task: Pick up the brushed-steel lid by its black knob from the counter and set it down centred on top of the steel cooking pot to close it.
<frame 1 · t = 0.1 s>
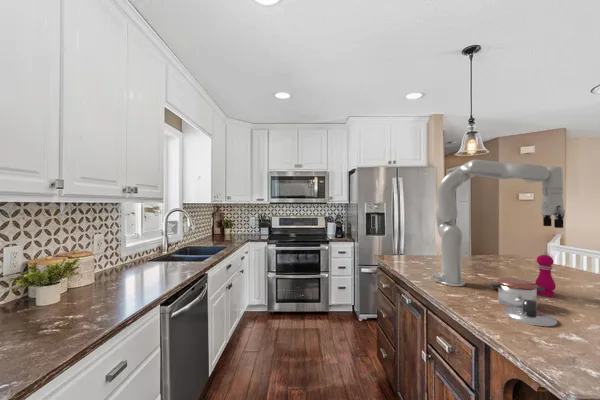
hand: (552, 226, 137), 31 cm above the counter, tool pointing down, fingers open, 9 cm apart
pot: (517, 303, 119), on the counter
pepper mill: (545, 294, 131), on the counter
lid: (529, 318, 105), on the counter
burger: (508, 291, 137), on the counter
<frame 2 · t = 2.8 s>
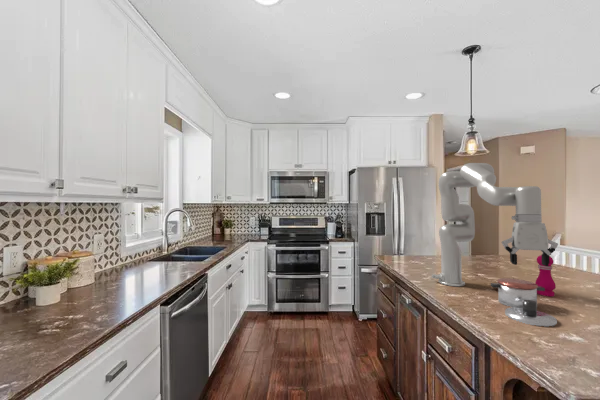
hand: (529, 264, 105), 20 cm above the counter, tool pointing down, fingers open, 9 cm apart
nothing on the counter moved.
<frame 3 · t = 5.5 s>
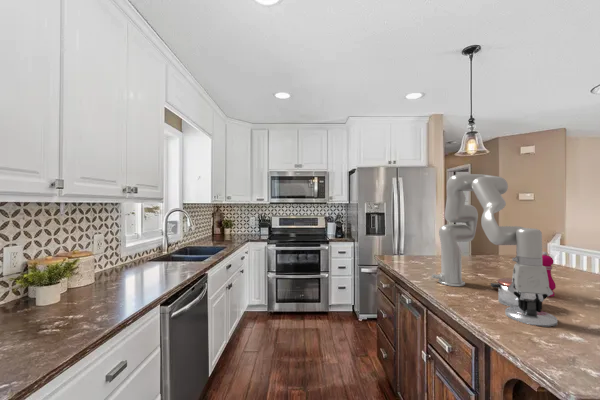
hand: (530, 309, 105), 3 cm above the counter, tool pointing down, fingers closed on lid, 4 cm apart
lid: (530, 318, 105), on the counter, touching gripper
everything else where it was.
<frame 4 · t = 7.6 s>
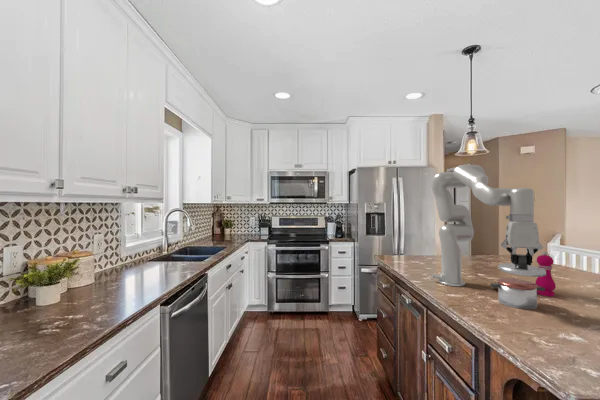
hand: (521, 263, 113), 19 cm above the counter, tool pointing down, fingers closed on lid, 4 cm apart
lid: (521, 271, 113), point 15 cm above the counter, touching gripper
everything else where it was.
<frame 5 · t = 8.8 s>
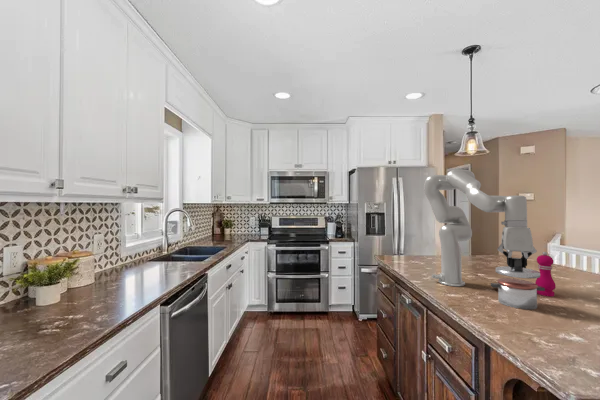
hand: (516, 266, 120), 16 cm above the counter, tool pointing down, fingers closed on lid, 4 cm apart
lid: (517, 273, 119), point 13 cm above the counter, touching gripper
everything else where it was.
when the fingers open (13 cm above the counter, at t = 9.9 s): lid drops 1 cm, resting on pot.
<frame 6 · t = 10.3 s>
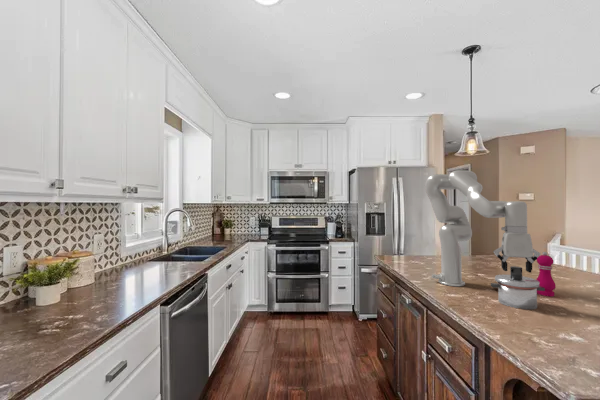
hand: (516, 270, 120), 14 cm above the counter, tool pointing down, fingers open, 8 cm apart
lid: (516, 282, 120), point 9 cm above the counter, touching pot
everything else where it was.
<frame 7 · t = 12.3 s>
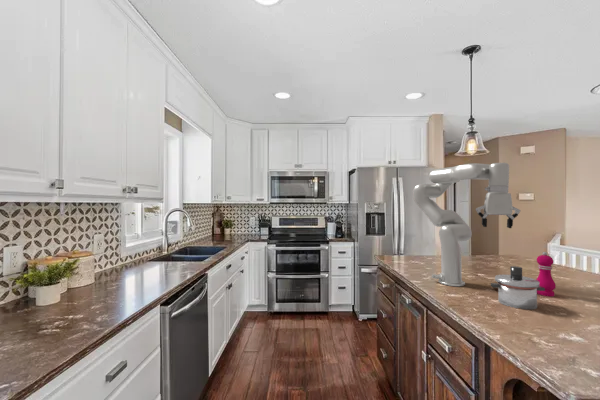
hand: (496, 227, 128), 32 cm above the counter, tool pointing down, fingers open, 9 cm apart
nothing on the counter moved.
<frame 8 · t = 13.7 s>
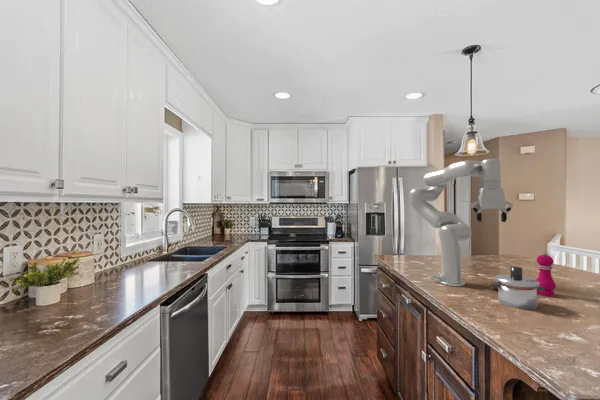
hand: (491, 221, 131), 34 cm above the counter, tool pointing down, fingers open, 9 cm apart
nothing on the counter moved.
at the end: lid 0.2 cm from the pot (horizontally); lid point 9.0 cm above the counter; lid tilted 0° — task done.
